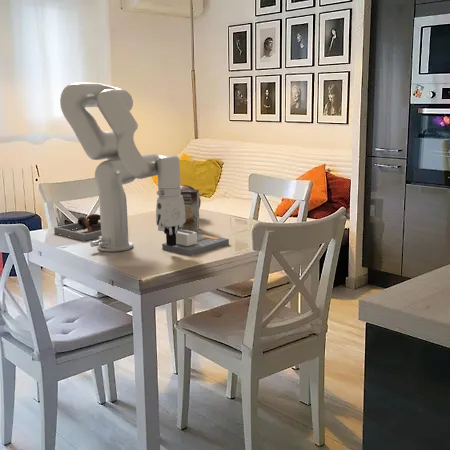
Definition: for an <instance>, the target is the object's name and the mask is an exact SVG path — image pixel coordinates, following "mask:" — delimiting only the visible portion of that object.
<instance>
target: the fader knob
mask: <svg viewBox="0 0 450 450" xmlns="http://www.w3.org/2000/svg"><path fill="white" fill-rule="evenodd" d="M197 234H198V232H197V231H188V230H181V229H180V230H179V231H177V234H176V244H180V245H184V246H190V245H193V244H197Z"/></svg>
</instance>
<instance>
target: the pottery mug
mask: <svg viewBox="0 0 450 450" xmlns="http://www.w3.org/2000/svg"><path fill="white" fill-rule="evenodd" d="M98 221H100V214H96V213H92V214H89V215H87V216H86V217H84V216H79V218H78V219H77V223H78V224H79V225H80V226H81V227H82V228H81V229H83V230H84V231H86V229H87V231H86V232H87V233H91V232H95V231H100V230H101V223H100V224H98Z"/></svg>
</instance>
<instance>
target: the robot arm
mask: <svg viewBox="0 0 450 450" xmlns="http://www.w3.org/2000/svg"><path fill="white" fill-rule="evenodd" d="M59 100H60V109H61V112H62V115H63V116H64V118H65V119H66V121H67V122H68V124H69V125H70V127H71V129H72V131H73V133H74V134H75V136H76V139H77V140H78V141H79V143H80V144H81V147H82V149H83V150H84V152H85V155H86V156H87V157H88V158H89V159H91V160H92V161H99V160H104V161H101V162H100V163H99V164H98V165H97V166H96V168H95V171H94V179H95V183H96V188H97V192H98V204H99V215H100V220H99V222H101V236H100V237H99V238H97V240H92V241H91V242H90V243H89V244H90V247H91V248H94V247H97V249H98V250H99V251H101V252H108V253H109V252H110V253H111V252H113V253H114V252H123V251H127V250H130V249H132V248H133V247H134V243H133V242H132V241H129V225H128V205H127V194H126V192H125V189H124V187H123V185H126V184H130V183H133V182H134V181H135V180H136V179H139V180H142V179H147V178H151V177H157V190H158V191H156V194H157V196H158V197H157V200H156V208H155V209H156V210H155V221H156V225H157V230H158V231H159V232H163V233H164V235H166V236H165V239H166V241H165V243H166V244H167V245H168V246H175V245H176V234H177V232H179V231H178V229H179V228H180V227H181V226H183V224H184V223H185V222H186V214H185V205H184V200H183V196H182V195H181V187H180V185H181V161H180V158H179V156H177V155H162V154H157V153H150V154H144V155H142V154H141V153H140V151H139V149H138V148H137V146H136V143H135V140H134V135H135V133H136V131H137V129H138V127H139V124H138V122H137V120H136V119H135V118H134V116H133V114H132V113H131V110H132V108H133V105H134V100H133V97H132V95H131V94H130V93H129V92H128V91H127V90H126V89H123V88H119V87H115V86H111V85H108V84H103V83H100V82H99V83H98V82H74V83H69V84H67V85H66V86H65V87H64V88H63V90H62V91H61V94H60V99H59ZM86 108H97V109H98V110H99V112H100V113H101V115H102V116H103V117H104V118H103V119H104V120H105V121H106V122H107V124H108V126H109V127H110V130H111V131H103V130H102V129H101V127H100V125H99V124H98V123H97V120H96V118H94V116H93V115H92V114H91V113H90V112H89V111H88V110H87V109H86Z"/></svg>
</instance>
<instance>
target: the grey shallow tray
mask: <svg viewBox="0 0 450 450" xmlns="http://www.w3.org/2000/svg"><path fill="white" fill-rule="evenodd" d="M100 223H101V222H100V220H98V224H100ZM76 228H81V229H83V228H82V227H81V226H80V225H79V224H78V222H74V223H69V224H64V225H60V226H54V228H53V231H54V234H55V233H57V234H56V235H59V234H61V235H60V236H63V235H66V236H65V237H67V236H70V237H69V238H71V237H73V238H72V239H75V238H76V239H75V240H79V239H80V240H79V241H83V240H84V241H83V242H86V240H87V241H90V239H92V240H95V239H99V237H100V236H101V230H99V231H95V232H91V233H83V232H80V231H76V230H77V229H76ZM72 229H76V230H72ZM71 230H72V231H71Z"/></svg>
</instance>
